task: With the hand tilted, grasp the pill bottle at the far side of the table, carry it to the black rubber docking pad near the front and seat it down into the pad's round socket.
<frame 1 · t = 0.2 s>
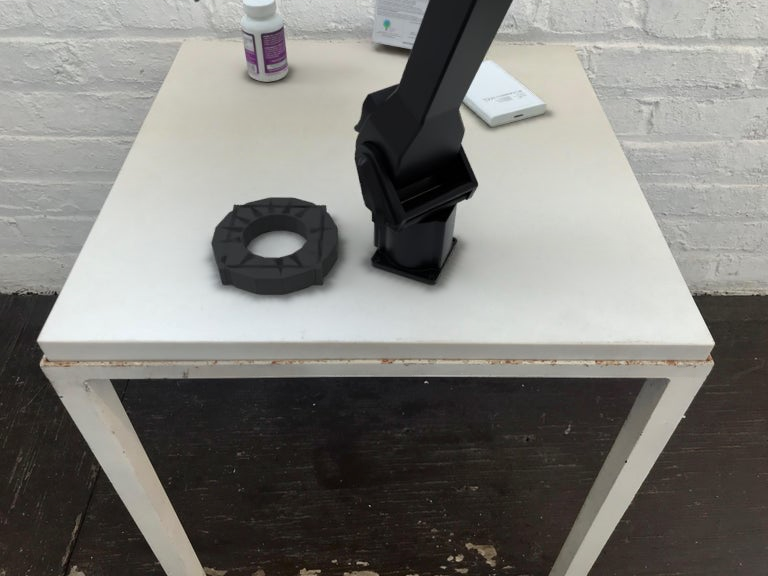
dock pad: (277, 250, 59), on the table
ink cartridge box: (409, 47, 89), on the table
hard drive: (490, 98, 80), on the table
pill bottle: (268, 74, 83), on the table
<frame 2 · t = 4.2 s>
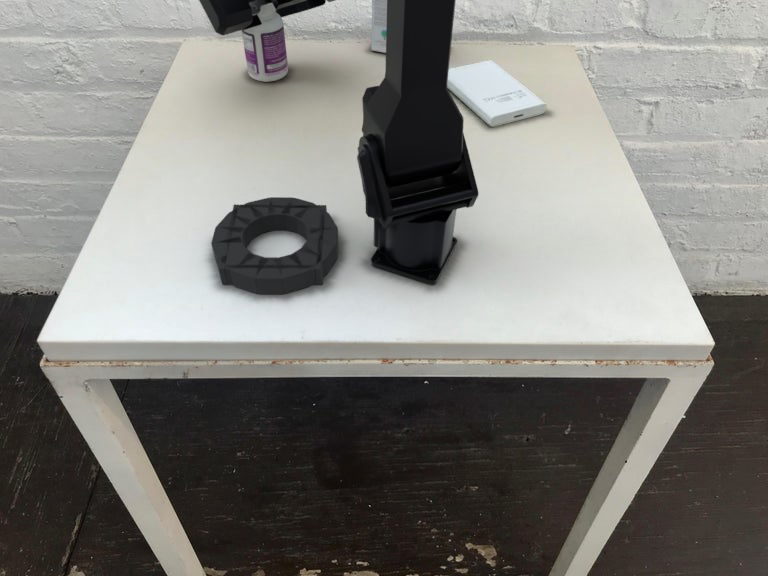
hand: (256, 20, 79), 7 cm above the table, tool tilted 45°, fingers closed on pill bottle, 5 cm apart
pill bottle: (268, 74, 83), on the table, touching gripper
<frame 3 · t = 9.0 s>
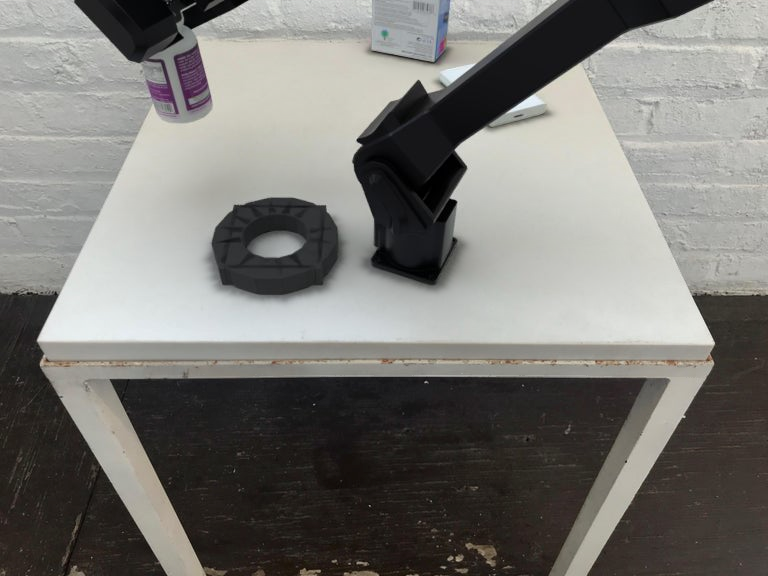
hand: (155, 42, 55), 15 cm above the table, tool tilted 40°, fingers closed on pill bottle, 5 cm apart
pill bottle: (186, 113, 60), point 8 cm above the table, touching gripper
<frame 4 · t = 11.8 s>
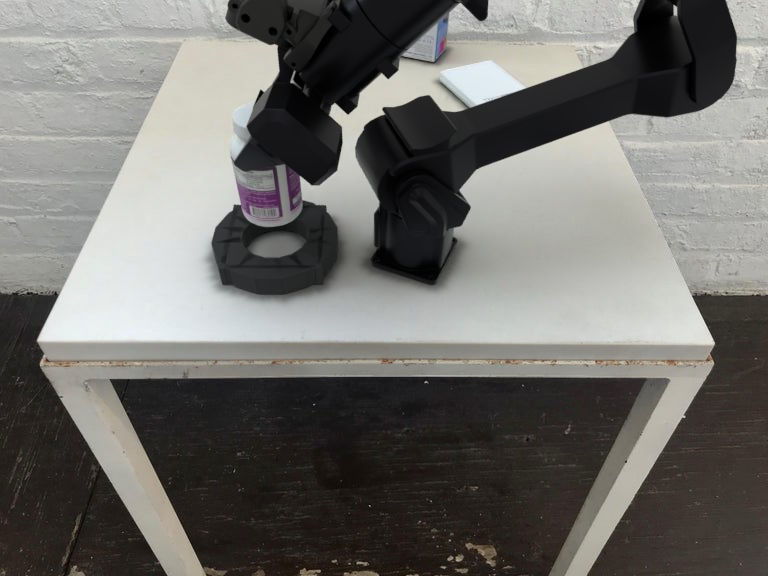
hand: (246, 146, 51), 11 cm above the table, tool tilted 45°, fingers closed on pill bottle, 5 cm apart
pill bottle: (273, 212, 55), point 5 cm above the table, touching gripper
when the fingers open (7 cm above the table, at t = 13.9 s): pill bottle stays where it is, resting in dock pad.
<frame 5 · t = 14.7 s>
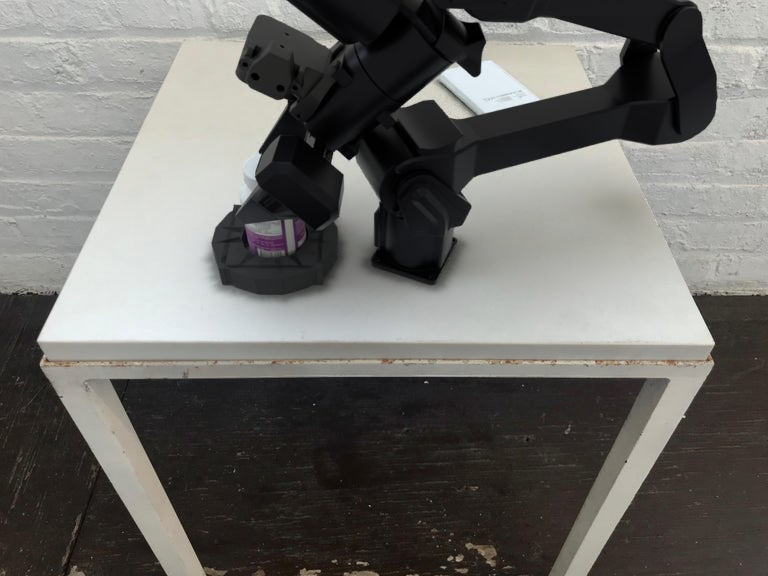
hand: (251, 185, 53), 8 cm above the table, tool tilted 45°, fingers open, 9 cm apart
pill bottle: (278, 252, 59), resting in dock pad
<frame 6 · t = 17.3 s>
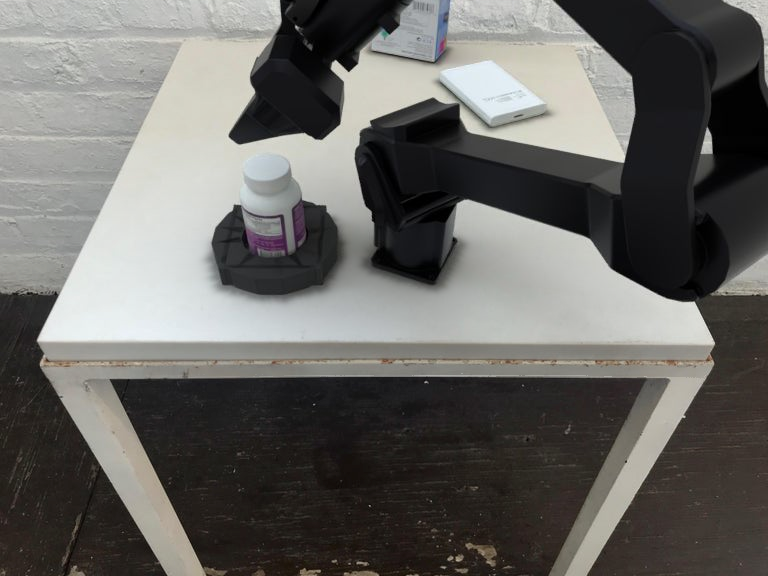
hand: (245, 108, 50), 14 cm above the table, tool tilted 45°, fingers open, 9 cm apart
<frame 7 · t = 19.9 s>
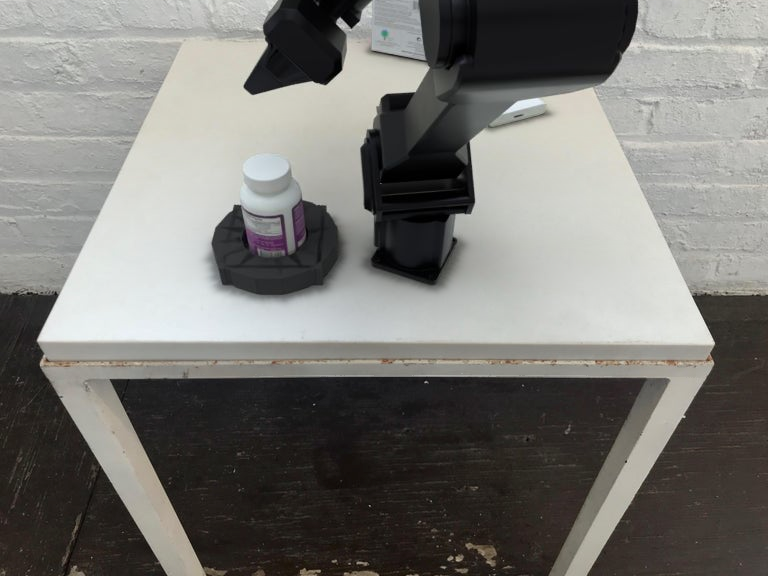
hand: (258, 65, 56), 14 cm above the table, tool tilted 45°, fingers open, 9 cm apart
at the end: pill bottle 0.1 cm off-centre in the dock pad, point 0.0 cm above the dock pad's base; pill bottle tilted 0°; the gripper is holding nothing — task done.
